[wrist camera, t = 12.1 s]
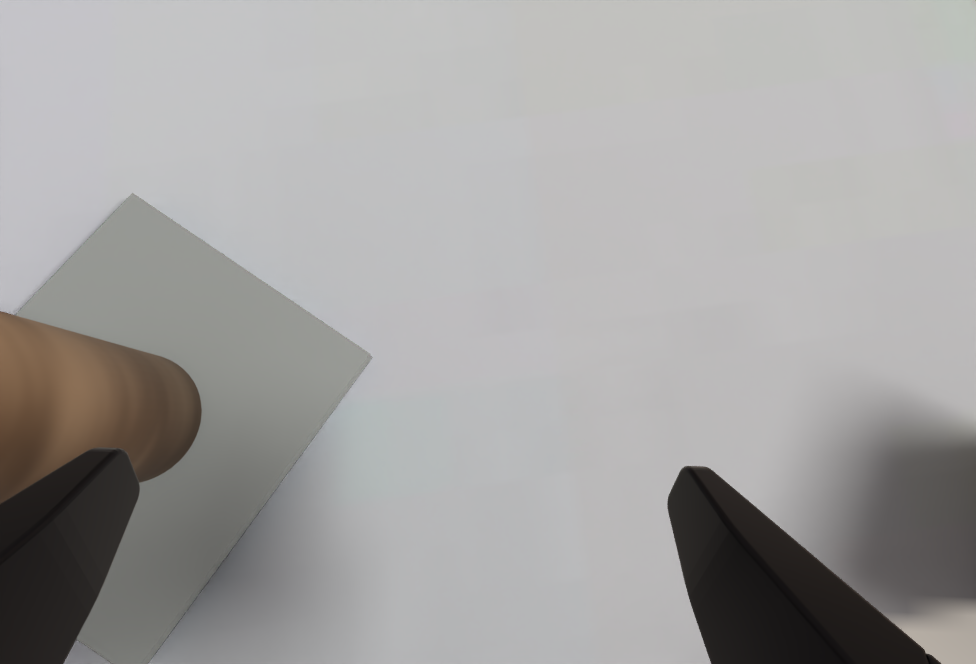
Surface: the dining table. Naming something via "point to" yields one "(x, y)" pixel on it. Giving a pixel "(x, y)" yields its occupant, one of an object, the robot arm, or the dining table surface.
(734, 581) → the robot arm
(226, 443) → the slate board
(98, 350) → the pepper mill
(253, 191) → the dining table surface
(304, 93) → the dining table surface
